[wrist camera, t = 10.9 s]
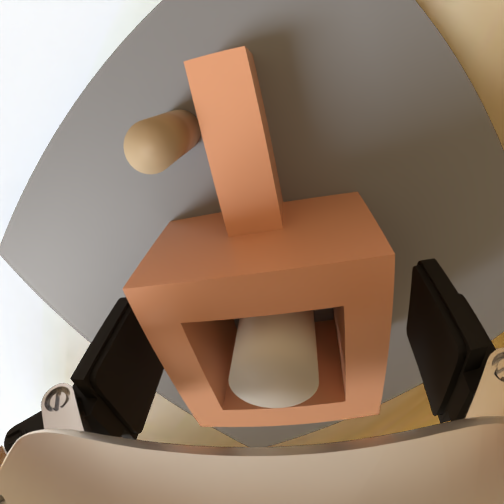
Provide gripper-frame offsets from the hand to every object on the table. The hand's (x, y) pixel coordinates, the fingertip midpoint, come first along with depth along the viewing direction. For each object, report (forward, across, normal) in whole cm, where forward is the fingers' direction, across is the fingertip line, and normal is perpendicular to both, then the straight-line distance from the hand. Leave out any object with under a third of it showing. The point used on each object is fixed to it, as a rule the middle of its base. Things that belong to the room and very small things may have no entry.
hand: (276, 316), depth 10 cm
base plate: (+3, 0, 0) cm, 3 cm away
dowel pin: (+2, +2, -6) cm, 7 cm away
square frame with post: (+2, 0, -2) cm, 3 cm away
